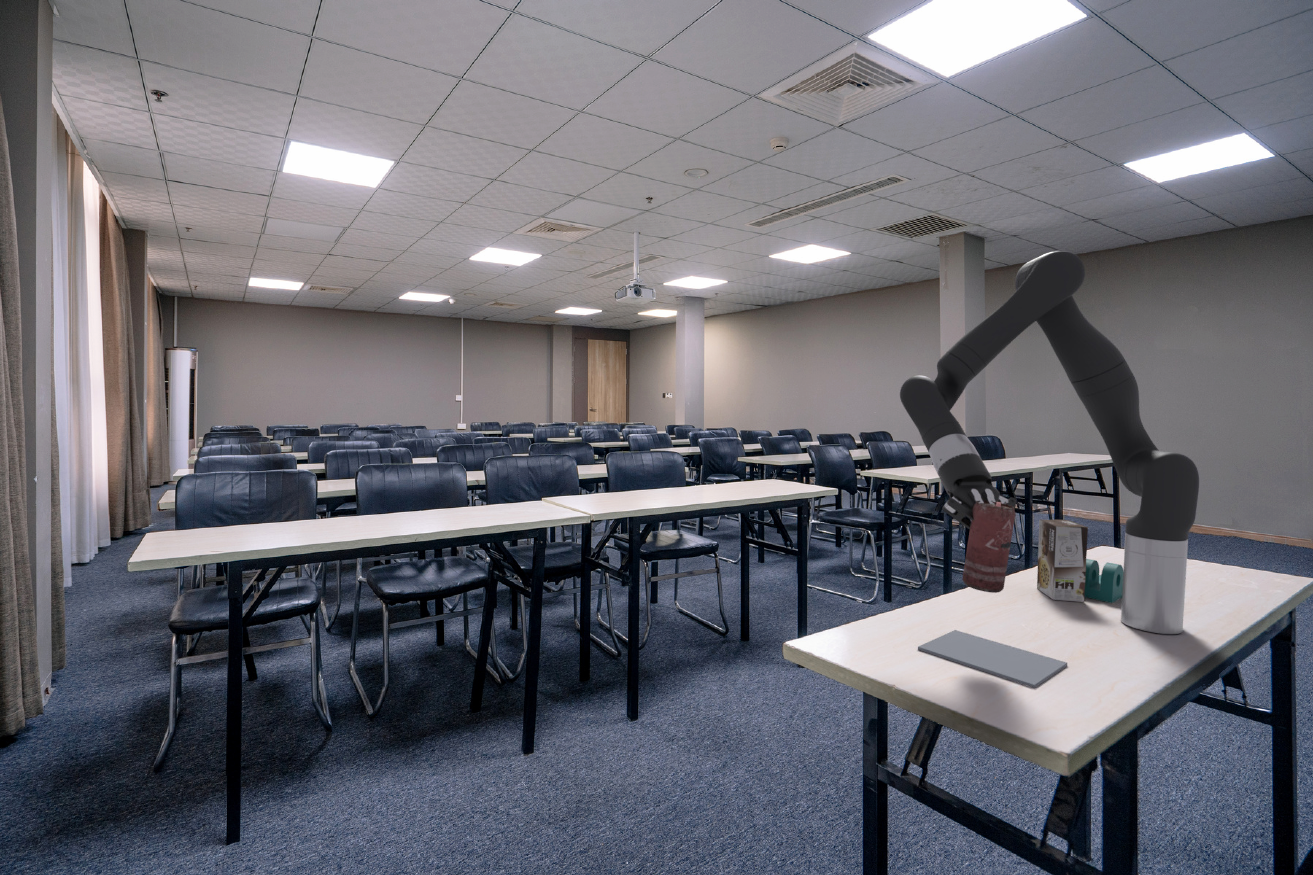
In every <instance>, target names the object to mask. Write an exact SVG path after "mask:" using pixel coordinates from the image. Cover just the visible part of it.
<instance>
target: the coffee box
mask: <svg viewBox="0 0 1313 875" xmlns="http://www.w3.org/2000/svg"><path fill="white" fill-rule="evenodd" d="M1038 522H1039V524H1038V525H1039V526H1038V545H1037V547H1038V548H1037V550H1038V551H1037V576H1036V579H1037V582H1036V589H1037V590H1039V592H1042V593H1043V594H1044V595H1046V596H1047V597H1048V598H1051V599H1052V600H1053V601H1055V600H1056V601H1064V602H1065V601H1067V602H1077V603H1078V602H1079V603H1084V601H1085V597H1084V594H1085V574H1086V559H1087V555H1088V554H1087V553H1088V552H1087V551H1088V536H1089V535H1088V534H1089V533H1088V532H1089V527H1088V526H1086V525H1083V524H1081V523H1078V522H1075V521H1072V520H1070V519H1038Z"/></svg>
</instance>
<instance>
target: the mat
mask: <svg viewBox="0 0 1313 875" xmlns="http://www.w3.org/2000/svg"><path fill="white" fill-rule="evenodd" d="M917 650H919V651H922V652H924V653H926V654H930V655H933V656H936V657H939V658H942V659H945V660H947V661H951V662H953V663H957V664H961V665H964V666H965V667H966V666H967V667H970V668H972V669H975V670H978V671H981V672H984V673H987V674H990V675H993V676H997V677H999V678H1003V679H1005V680H1008V681H1012V682H1015V683H1017V684H1021V685H1024V686H1027V687H1029V688H1032V689H1035V688H1037V687H1039V686H1040V685H1042V684H1043V683H1044V682H1046V681H1047V680H1049V679H1051V678H1052V677H1053V676H1054V675H1056V674H1057V673H1059V672H1060V671H1062V670H1063V669H1065V668H1066V667H1067V666H1068V662H1066V661H1063V660H1060V659H1056V658H1053V657H1050V656H1045V655H1042V654H1038V653H1036V652H1032V651H1029V650H1026V649H1021V648H1018V647H1015V646H1011V645H1007V644H1004V643H1001V642H998V641H996V640H995V641H994V640H991V639H987V638H983V637H980V636H977V635H974V634H971V633H968V632H963V631H960V630H957V629H954V630H951V631H950V632H947V633H945V634H943V635H940V636H938V637H936V638H934V639H932V640H930V641H927V642H925V643H923V644H921V645H919V646H917Z"/></svg>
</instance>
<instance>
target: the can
mask: <svg viewBox="0 0 1313 875" xmlns="http://www.w3.org/2000/svg"><path fill="white" fill-rule="evenodd" d="M979 502H980V501H977V502H976V503H975V505H974V506H973V518H974V520H973V521H972V520H970V522H972V523H971V527H970V530H969V533H968V534H969V535H968V538H967V539H968V540H967V546H966V553H965V559H964V566H963V572H962V573H963V574H962V580H961V581H962V582H963V585H965V586H967V587H969V588H970V589H973V590H976V591H980V592H985V593H991V594H993V593H994V594H995V593H1001V592H1002V591H1003V590H1004V587H1005V583H1006V582H1005V581H1006V576H1007V570H1008V564H1009V557H1010V550H1011V547H1010V548H1009V549H1006V548H1001V545H1002V544H1006V543H1008V542H1009V543H1010V542H1011V544H1010V546H1011V545H1012V538H1013V532H1014V531H1013V530H1014V524H1015V519H1016V518H1015V517H1016V511H1015V510H1014V507H1013V506H1010V505H1007V504H1003V503H1001V502H993V503H994V504H989V501H983V502H984V503H979ZM994 505H995V506H994Z"/></svg>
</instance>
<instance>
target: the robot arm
mask: <svg viewBox="0 0 1313 875" xmlns="http://www.w3.org/2000/svg"><path fill="white" fill-rule="evenodd" d="M1085 277H1086V267H1085V263H1084V262H1083V260H1082V259H1081V258H1080V257H1079V256H1078V255H1077V254H1076V253H1073V252H1071V251H1067V250H1055V251H1050V252H1047V253H1044V254H1042V255H1040V256H1038V257H1035V258H1033V259H1031V260H1029V261H1028V262H1026V263H1024V264H1023V265H1022V266H1021V267H1020V268H1019V269H1018V271H1017V273H1016V276H1015V281H1014V285H1015V286H1014V287H1015V292H1014V293H1013V294H1012V295H1011V296H1010V297H1009V298H1008V299H1007V300H1006V301H1005V302H1004V303H1003V304H1001V305H1000V306H999V307H998V308H997V309H995V311H993V312H992V313H991V314H990V315H988V316H987V317H985V319H983V320H982V321H980V322H979V323H978V324H977V325H975V326H974V327H973V328H972V329H970V330H969V331H968V332H966V333H965V335H963V336H962V337H961V338H960V339H959V340H958V341H957V342H955V344H953V345H952V347H950V348H949V349H948V351H946V353H944V354H943V355H942V356H941V357H940V358H939V360H938V361H937V364H936V369H937V376H936V377H935V379H934V380H933V379H932V378H930V377H928V376H925V375H921V374H920V375H914V376H911V377H909V378H907V379H906V380H905V381H904V383H903V384H902V385H901V387H900V392H899V398H900V402H901V404H902V406H903V407H904V409H905V411H906V413H907V414H908V416H909V417H910V419H911V421H912V422H913V424H914V425H915V427H916V429H917V430H918V432H919V435H920V437H921V439H922V442H923V444H924V446H925V448H926V450H927V451H928V454H929V456H930V459H931V464H932V465H933V468H934V469H935V472H936V474H937V475H938V477H939V480H940V481H941V483H942V486H943V487H944V490H945V491H946V492H945V493H947V495H948V496H949V498H948V500H947V501H946V503H945V504H944V505H943V506H942V510H943V512H945V513H946V514H948V515H949V516H950V517H952V518H953V519H954V520H955V521H957V522H958V523H960V524H961V525H963V527H965V528H966V529H968V530H969V531H970V527H971V523H972V522H971V520H972V521H973V520H974V518H973V506H974V505H975V503H976V502H977V501H980V502H979V503H984V502H983V501H989V504H994V503H993V502H1001V503H1003V504H1007V505H1010V506H1013V507H1014V511H1015V510H1016V509H1015V508H1016V505H1017V501H1018V500H1017V499H1016V498H1014V497H1009V498H1006V497H1004V496H1002V495H1001V493H1000V491H999V490H998V489H997V488H996V487H995V486H993V483H992V482H993V481H992V476H991V474H990V471H989V470H988V469H987V466H986V465H985V463H984V462H983V460H982V457H981V455H980V454H979V452H978V451H977V449H976V446H974V444H973V443H972V442H971V440H970V439H969V437H968V436H967V435H966V434H967V433H966V432H965V430H964V429H963V428H962V425H961V424H960V423H959V420H957V419H956V417H955V416H954V415H953V413H952V412H951V410H952V409H953V407H954V406H955V405H956V403H957V401H958V400H959V399H960V397H961V396H962V394H963V392H964V391H965V389H966V387H967V385H968V384H969V383H970V382H971V381H972V380H973V379H974V378H976V376H978V375H979V373H981V372H982V371H983V370H984V369H985V368H986V367H987V366H988V365H989V364H990V363H991V362H992V361H993V360H995V358H997V356H999V355H1000V353H1001V352H1002V351H1003V350H1005V349H1006V348H1007V347H1008V346H1009V345H1010V344H1011V343H1013V341H1014V340H1015V339H1016V338H1017V337H1019V336H1020V335H1021V334H1022V333H1023V332H1024V331H1025V330H1027V329H1028V328H1029V327H1030V326H1031V325H1033V324H1034V323H1035V322H1036V323H1037V324H1038V326H1039V327H1040V328H1041V330H1042V332H1043V333H1044V335H1045V336H1046V338H1047V341H1048V342H1049V344H1050V346H1051V348H1052V350H1053V352H1054V354H1055V355H1056V357H1057V360H1058V361H1059V363H1060V365H1061V366H1062V368H1063V370H1064V372H1065V375H1066V376H1067V378H1068V380H1069V382H1070V384H1071V385H1072V387H1073V389H1074V391H1075V393H1076V394H1077V396H1078V398H1079V400H1080V401H1081V402H1082V404H1083V406H1084V408H1085V409H1086V411H1087V413H1088V415H1089V418H1090V419H1091V420H1092V422H1093V424H1094V425H1095V427H1096V429H1097V431H1098V432H1099V435H1100V436H1101V438H1102V440H1103V442H1104V444H1105V447H1106V448H1107V451H1108V453H1109V456H1110V458H1111V461H1112V463H1113V466H1114V468H1115V471H1116V473H1117V476H1118V478H1119V480H1120V482H1121V484H1122V485H1123V486H1124V487H1125V488H1126V490H1127V491H1129V492H1130V493H1131V494H1133V495H1136V496H1139V497H1140V498H1141V500H1140V506H1139V511H1138V512H1137V513H1136V515H1133V516H1130V517H1128V518H1127V519H1126V521H1125V531H1124V532H1125V533H1124V535H1125V536H1124V549H1123V550H1124V553H1123V588H1122V598H1121V608H1120V610H1121V612H1120V622H1122V623H1123V624H1125V625H1126V626H1128V627H1130V628H1133V629H1137V630H1141V631H1145V632H1149V633H1155V634H1156V633H1157V634H1162V635H1178V634H1181V633H1183V632H1184V631H1183V630H1184V628H1183V627H1184V615H1185V614H1184V613H1185V598H1186V582H1187V581H1186V580H1187V568H1188V566H1187V565H1188V564H1187V563H1188V548H1189V547H1188V545H1189V543H1188V542H1189V532H1190V531H1191V528H1192V527H1193V526H1194V523H1195V521H1196V515H1197V508H1198V507H1197V506H1198V500H1199V490H1200V475H1199V470H1198V468H1197V465H1196V464H1195V462H1194V461H1193V460H1192V459H1191V458H1189V457H1188V456H1187V455H1185V454H1183V453H1179V452H1173V451H1165V450H1164V451H1163V450H1159V448H1158V447H1157V446H1156V445H1155V443H1154V442H1153V440H1152V439H1151V438H1150V435H1149V434H1148V432H1147V430H1146V429H1145V427H1144V425H1143V422H1142V419H1141V415H1140V413H1141V412H1140V391H1139V385H1138V382H1137V379H1136V378H1135V375H1134V373H1133V371H1132V369H1131V368H1130V366H1129V364H1128V362H1127V361H1126V359H1125V357H1124V355H1123V354H1122V353H1121V351H1120V350H1119V348H1118V347H1117V346H1116V345H1115V344H1114V343H1113V342H1112V340H1110V339H1109V338H1108V337H1107V336H1105V335H1104V334H1103V333H1102V332H1101V331H1099V330H1098V328H1096V326H1094V325H1093V324H1092V323H1091V322H1089V320H1088V319H1087V318H1086V317H1085V316H1084V314H1083V313H1082V311H1081V309H1080V308H1079V306H1078V305H1077V302H1076V300H1075V299H1074V297H1073V295H1074V294H1075V293H1077V291H1079V290H1080V288H1081V287H1082V285H1083V283H1084V280H1085ZM994 506H995V505H994ZM967 518H968V519H967ZM1010 544H1011V545H1012V541H1011V542H1010V543H1009V542H1008V543H1006V544H1002V545H1001V548H1006V549H1009V548H1010V549H1011V545H1010Z"/></svg>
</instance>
